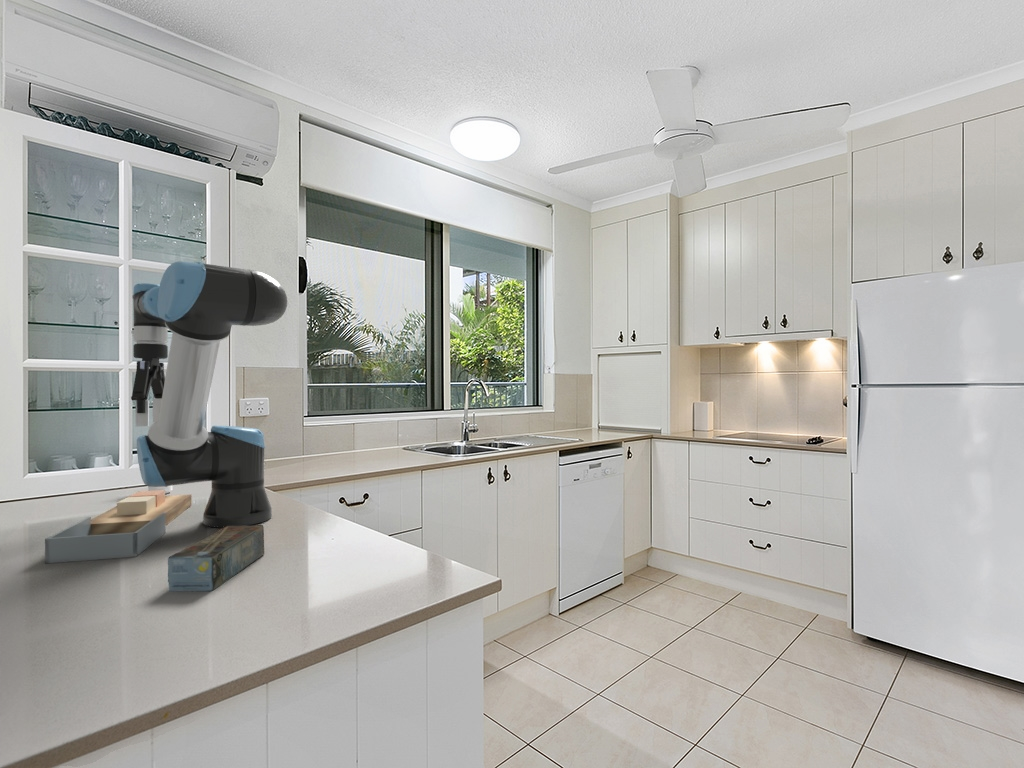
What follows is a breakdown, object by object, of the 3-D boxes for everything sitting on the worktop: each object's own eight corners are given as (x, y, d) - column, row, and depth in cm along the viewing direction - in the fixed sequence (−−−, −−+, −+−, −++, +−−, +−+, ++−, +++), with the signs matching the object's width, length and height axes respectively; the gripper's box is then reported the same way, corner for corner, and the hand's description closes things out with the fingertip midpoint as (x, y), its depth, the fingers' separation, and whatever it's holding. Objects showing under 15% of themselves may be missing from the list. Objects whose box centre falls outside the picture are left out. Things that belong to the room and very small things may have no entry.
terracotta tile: (165, 501, 141) (165, 490, 141) (156, 507, 135) (156, 495, 135) (138, 503, 139) (138, 491, 139) (129, 508, 133) (129, 496, 133)
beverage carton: (164, 592, 90) (164, 552, 90) (226, 555, 109) (226, 522, 109) (212, 593, 90) (212, 553, 90) (266, 555, 109) (266, 522, 109)
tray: (165, 532, 123) (165, 512, 123) (136, 556, 107) (136, 533, 107) (87, 537, 119) (87, 516, 119) (45, 563, 103) (44, 539, 103)
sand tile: (155, 508, 134) (155, 495, 134) (146, 513, 128) (146, 501, 128) (127, 509, 132) (127, 497, 132) (117, 515, 127) (117, 502, 127)
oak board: (191, 505, 150) (191, 494, 150) (155, 533, 123) (155, 520, 123) (132, 508, 146) (132, 497, 146) (82, 538, 119) (82, 524, 119)
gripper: (149, 345, 154) (149, 420, 154) (116, 339, 130) (116, 428, 130) (179, 346, 156) (179, 420, 156) (152, 340, 133) (152, 427, 133)
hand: (150, 424), depth 143 cm, fingers open, 13 cm apart
